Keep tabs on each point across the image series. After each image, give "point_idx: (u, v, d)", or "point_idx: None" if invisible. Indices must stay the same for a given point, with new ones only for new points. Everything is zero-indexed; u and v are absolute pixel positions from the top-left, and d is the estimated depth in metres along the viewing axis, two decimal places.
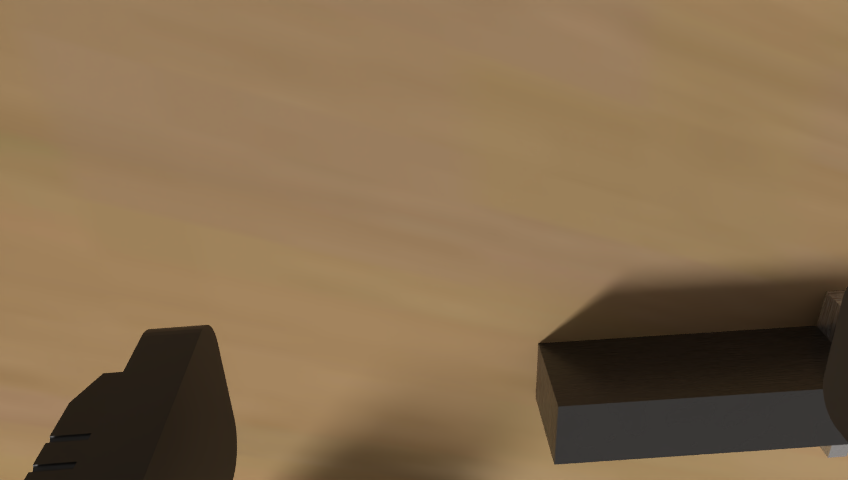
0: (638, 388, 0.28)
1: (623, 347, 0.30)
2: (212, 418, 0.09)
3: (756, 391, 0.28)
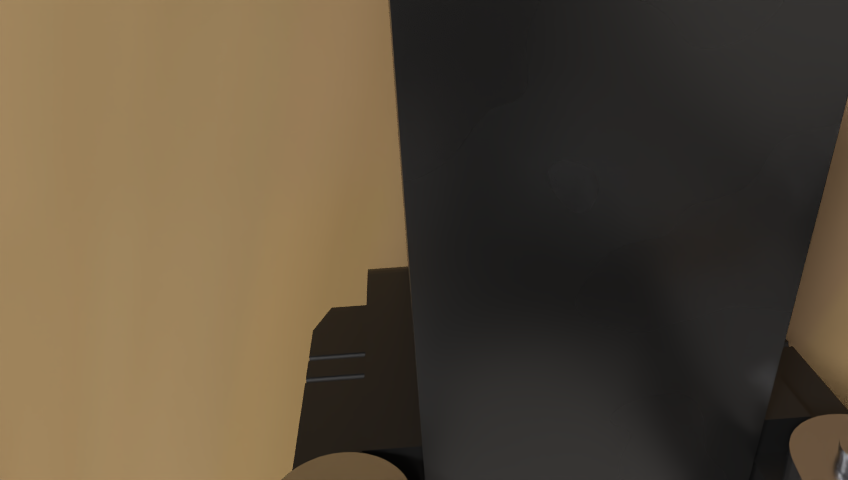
0: None
1: None
2: None
3: None
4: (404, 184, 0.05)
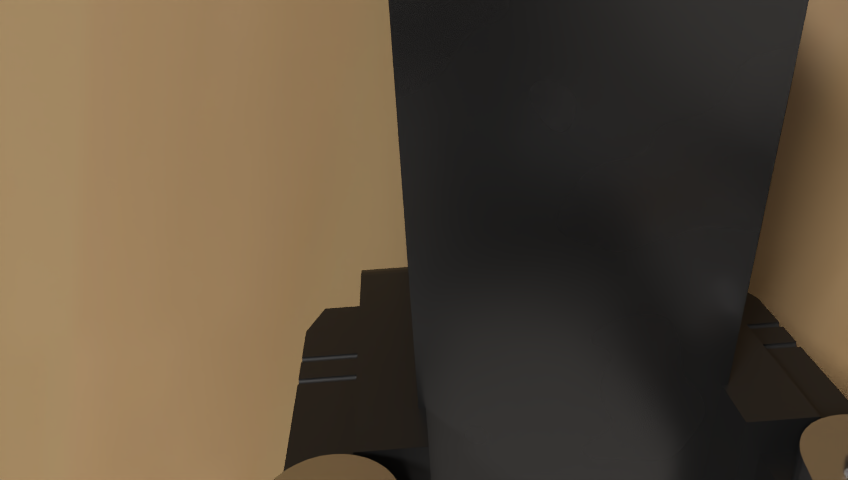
0: None
1: None
2: None
3: None
4: (397, 101, 0.05)
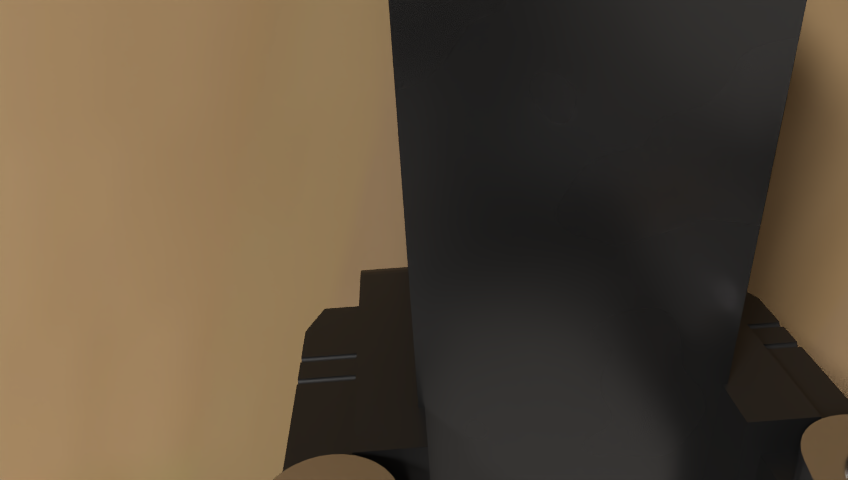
0: None
1: None
2: None
3: None
4: (396, 93, 0.05)
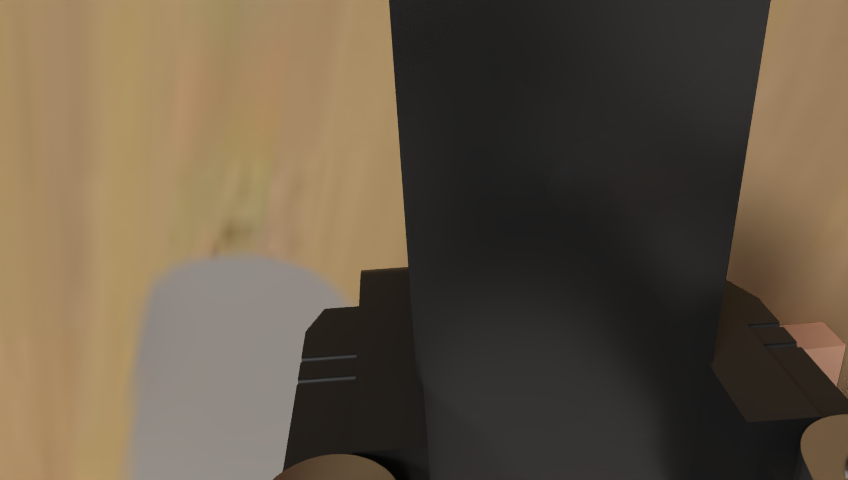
0: None
1: None
2: None
3: None
4: (395, 78, 0.06)
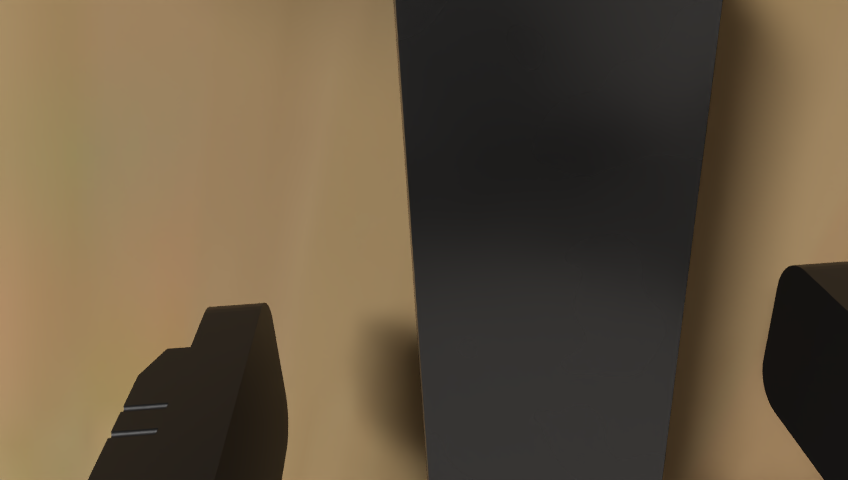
0: None
1: None
2: (271, 391, 0.09)
3: (660, 462, 0.09)
4: (399, 43, 0.07)
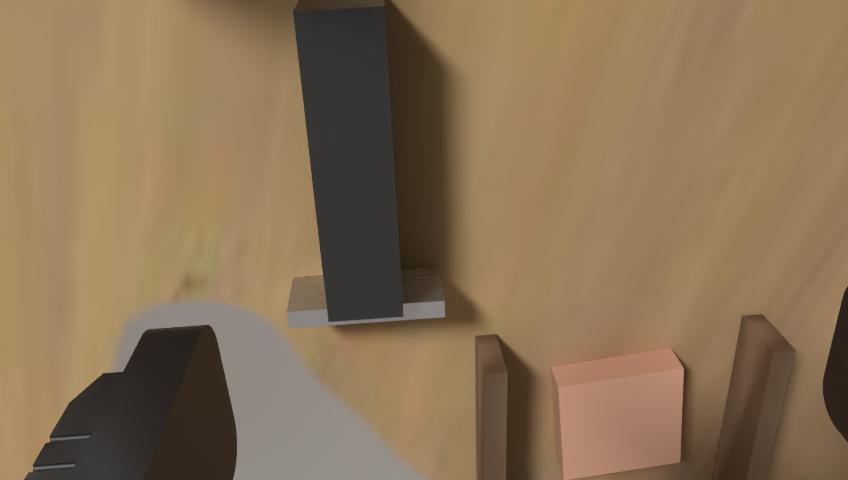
0: None
1: None
2: (213, 417, 0.09)
3: (397, 216, 0.27)
4: (300, 73, 0.25)
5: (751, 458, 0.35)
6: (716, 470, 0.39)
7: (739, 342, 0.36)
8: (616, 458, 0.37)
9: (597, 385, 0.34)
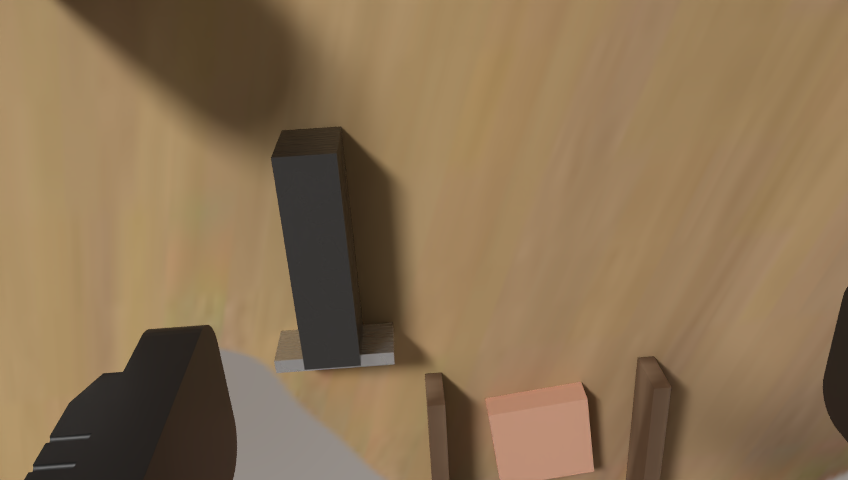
0: (344, 211, 0.36)
1: (347, 194, 0.38)
2: (212, 418, 0.09)
3: (353, 294, 0.37)
4: None
5: (645, 470, 0.45)
6: (627, 478, 0.49)
7: (637, 378, 0.45)
8: (541, 469, 0.46)
9: (519, 413, 0.44)
